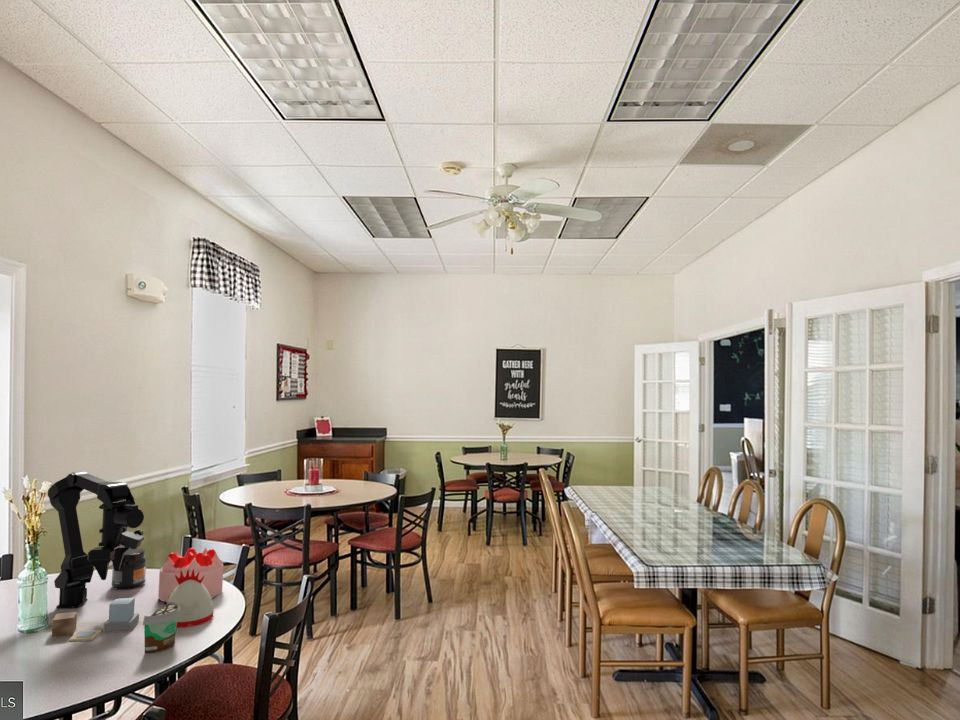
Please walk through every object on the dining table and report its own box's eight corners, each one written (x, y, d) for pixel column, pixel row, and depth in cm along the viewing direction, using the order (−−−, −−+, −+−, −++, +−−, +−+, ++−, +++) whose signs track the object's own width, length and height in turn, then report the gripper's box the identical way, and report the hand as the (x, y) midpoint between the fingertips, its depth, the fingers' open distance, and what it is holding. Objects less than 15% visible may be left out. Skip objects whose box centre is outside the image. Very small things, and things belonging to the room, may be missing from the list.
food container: (164, 656, 161) (166, 617, 162) (141, 655, 161) (143, 617, 162) (187, 637, 173) (189, 601, 174) (166, 636, 174) (167, 600, 174)
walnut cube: (51, 638, 171) (52, 620, 171) (55, 631, 176) (56, 613, 176) (72, 635, 173) (73, 617, 173) (76, 629, 178) (77, 611, 178)
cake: (144, 601, 199) (147, 557, 200) (182, 584, 219) (185, 543, 220) (200, 605, 197) (202, 560, 198) (233, 587, 216) (235, 546, 217)
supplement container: (152, 583, 219) (153, 549, 220) (127, 592, 209) (128, 556, 210) (129, 579, 223) (131, 546, 223) (103, 588, 213) (105, 553, 213)
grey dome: (166, 613, 191) (168, 564, 192) (214, 608, 196) (216, 561, 197) (159, 630, 178) (162, 577, 179) (211, 624, 183) (213, 573, 184)
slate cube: (108, 622, 176) (109, 604, 177) (115, 615, 181) (116, 598, 182) (127, 621, 177) (128, 604, 177) (133, 615, 182) (134, 598, 182)
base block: (103, 634, 175) (104, 623, 175) (112, 624, 182) (113, 614, 182) (130, 632, 177) (131, 622, 177) (138, 623, 184) (139, 613, 184)
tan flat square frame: (68, 641, 169) (68, 638, 169) (79, 632, 175) (79, 630, 175) (92, 640, 170) (92, 637, 170) (102, 631, 176) (102, 629, 176)
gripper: (128, 531, 182) (125, 584, 182) (152, 517, 201) (149, 565, 200) (87, 531, 181) (85, 585, 180) (115, 517, 199) (112, 566, 198)
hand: (110, 575), depth 190 cm, fingers open, 9 cm apart
